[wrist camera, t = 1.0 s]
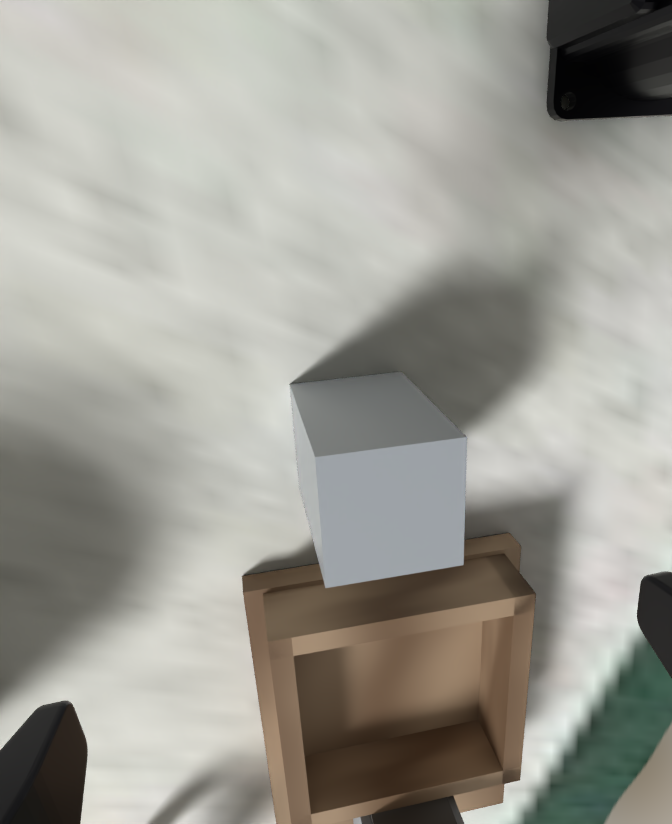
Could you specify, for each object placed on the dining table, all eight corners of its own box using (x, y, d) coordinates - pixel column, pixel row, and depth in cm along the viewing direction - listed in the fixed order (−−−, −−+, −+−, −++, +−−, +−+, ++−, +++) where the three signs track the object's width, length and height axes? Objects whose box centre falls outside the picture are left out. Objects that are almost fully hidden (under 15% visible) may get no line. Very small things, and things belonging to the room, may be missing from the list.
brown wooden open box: (509, 532, 24) (596, 635, 18) (494, 783, 29) (556, 920, 24) (242, 576, 22) (249, 702, 17) (279, 833, 28) (293, 992, 22)
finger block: (401, 371, 20) (467, 437, 15) (403, 483, 22) (462, 579, 17) (289, 383, 20) (315, 457, 14) (299, 497, 22) (326, 602, 16)
